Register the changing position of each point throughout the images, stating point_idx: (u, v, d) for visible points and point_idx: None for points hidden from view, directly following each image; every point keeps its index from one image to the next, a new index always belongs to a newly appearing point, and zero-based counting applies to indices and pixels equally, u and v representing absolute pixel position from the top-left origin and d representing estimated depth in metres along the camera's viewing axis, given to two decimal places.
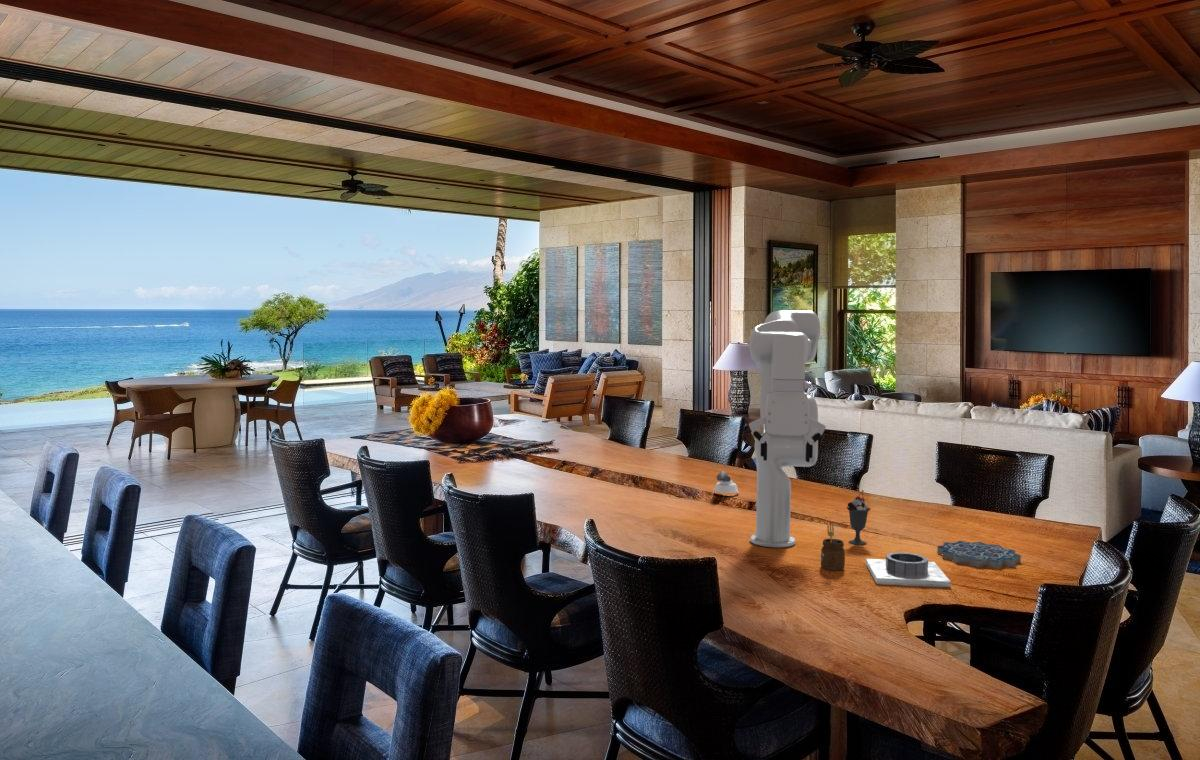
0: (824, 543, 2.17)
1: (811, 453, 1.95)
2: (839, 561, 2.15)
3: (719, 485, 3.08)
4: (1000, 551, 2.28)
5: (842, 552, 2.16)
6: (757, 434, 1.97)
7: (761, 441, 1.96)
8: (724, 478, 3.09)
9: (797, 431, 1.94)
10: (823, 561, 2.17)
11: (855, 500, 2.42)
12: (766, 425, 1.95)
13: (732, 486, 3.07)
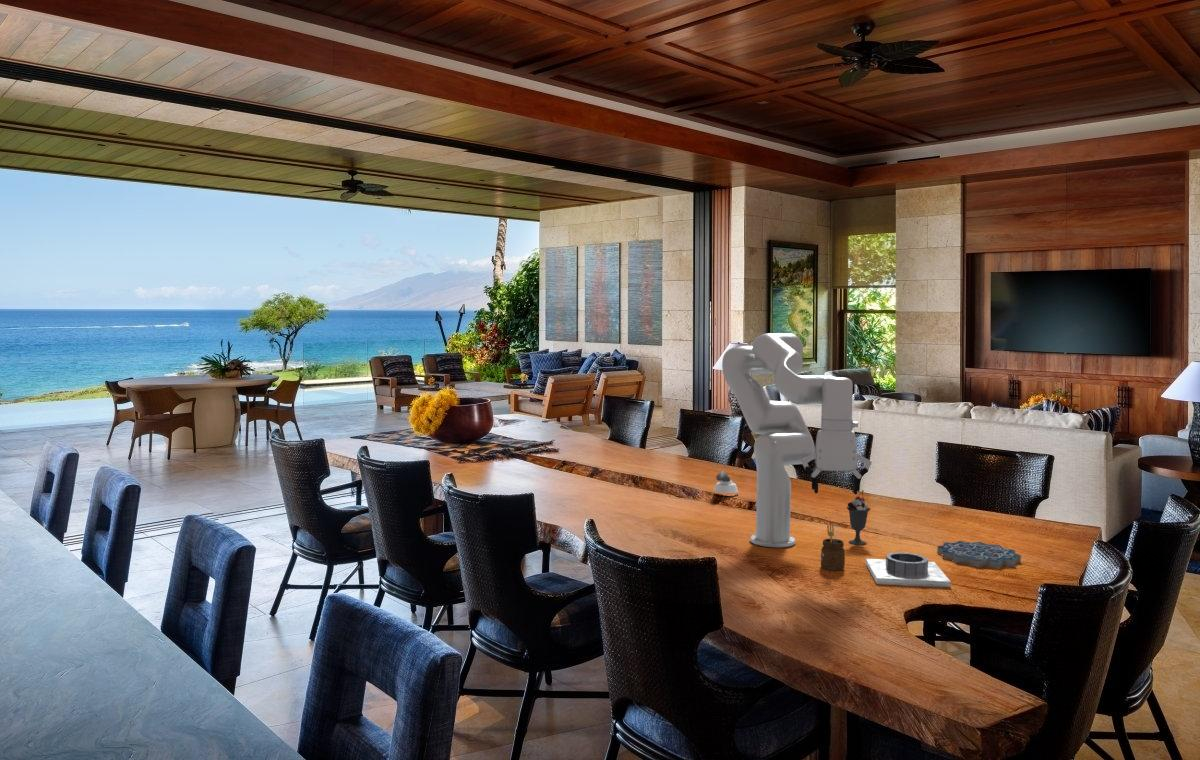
0: (824, 543, 2.17)
1: (858, 486, 2.15)
2: (839, 561, 2.15)
3: (719, 485, 3.08)
4: (1000, 551, 2.28)
5: (842, 552, 2.16)
6: (809, 469, 2.16)
7: (812, 475, 2.16)
8: (724, 478, 3.09)
9: (846, 466, 2.13)
10: (823, 561, 2.17)
11: (855, 500, 2.42)
12: (817, 461, 2.15)
13: (732, 486, 3.07)
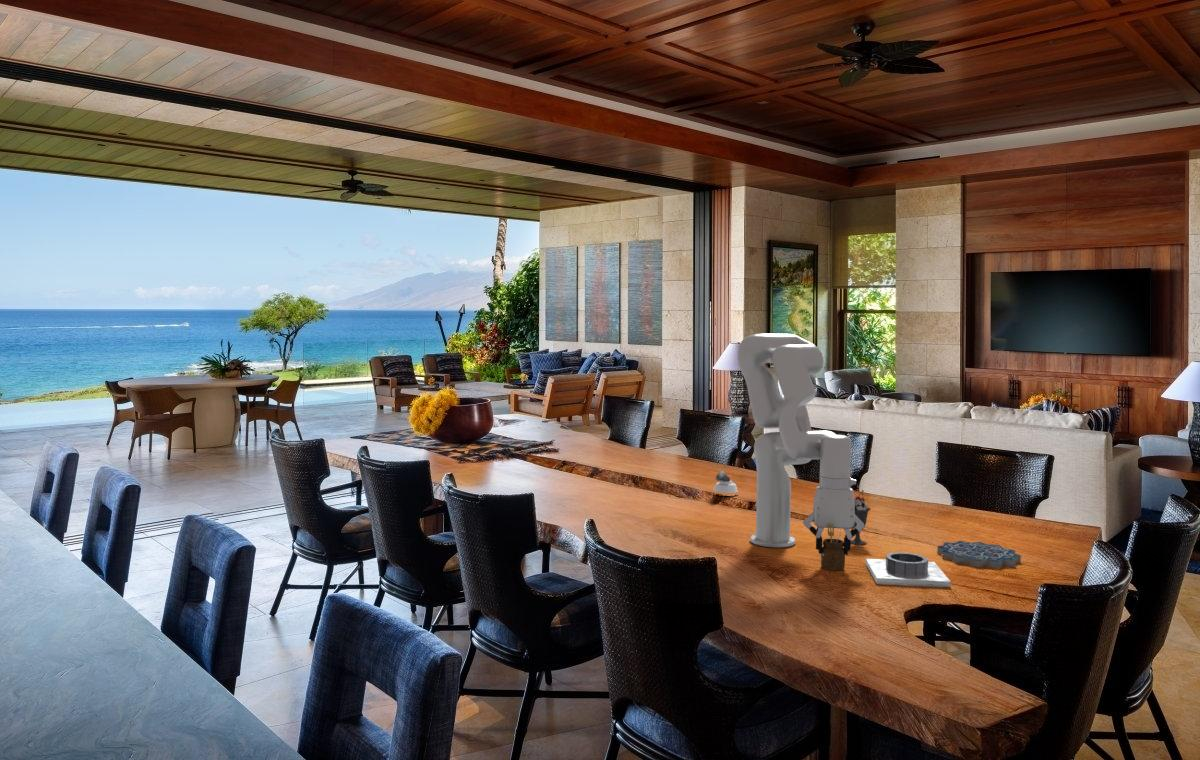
0: (824, 543, 2.17)
1: (849, 547, 2.16)
2: (839, 561, 2.15)
3: (718, 485, 3.08)
4: (1000, 551, 2.28)
5: (842, 552, 2.16)
6: (813, 529, 2.17)
7: (817, 536, 2.17)
8: (723, 478, 3.09)
9: (844, 524, 2.15)
10: (823, 561, 2.17)
11: (855, 500, 2.42)
12: (815, 518, 2.16)
13: (731, 486, 3.07)
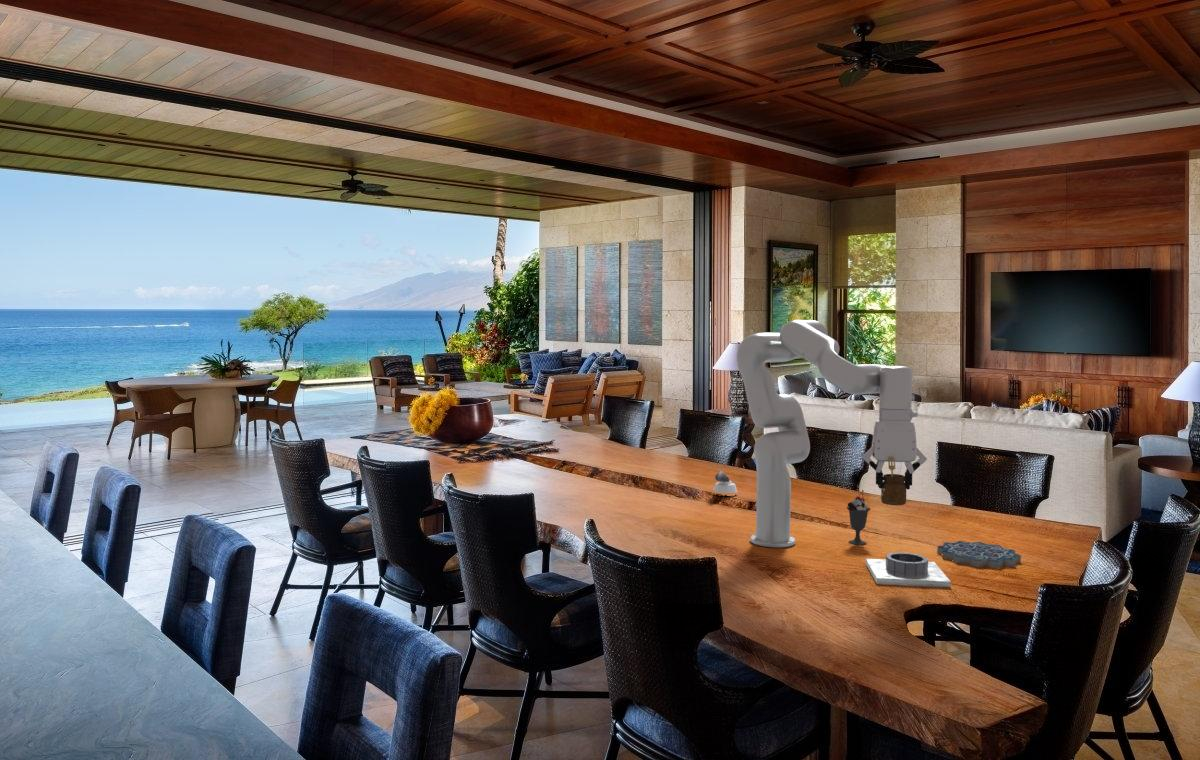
0: (885, 477, 2.11)
1: (911, 481, 2.10)
2: (901, 496, 2.09)
3: (718, 485, 3.08)
4: (1000, 551, 2.28)
5: (904, 486, 2.09)
6: (873, 464, 2.11)
7: (877, 470, 2.11)
8: (723, 478, 3.09)
9: (905, 457, 2.08)
10: (884, 496, 2.10)
11: (855, 500, 2.42)
12: (875, 452, 2.10)
13: (731, 486, 3.06)
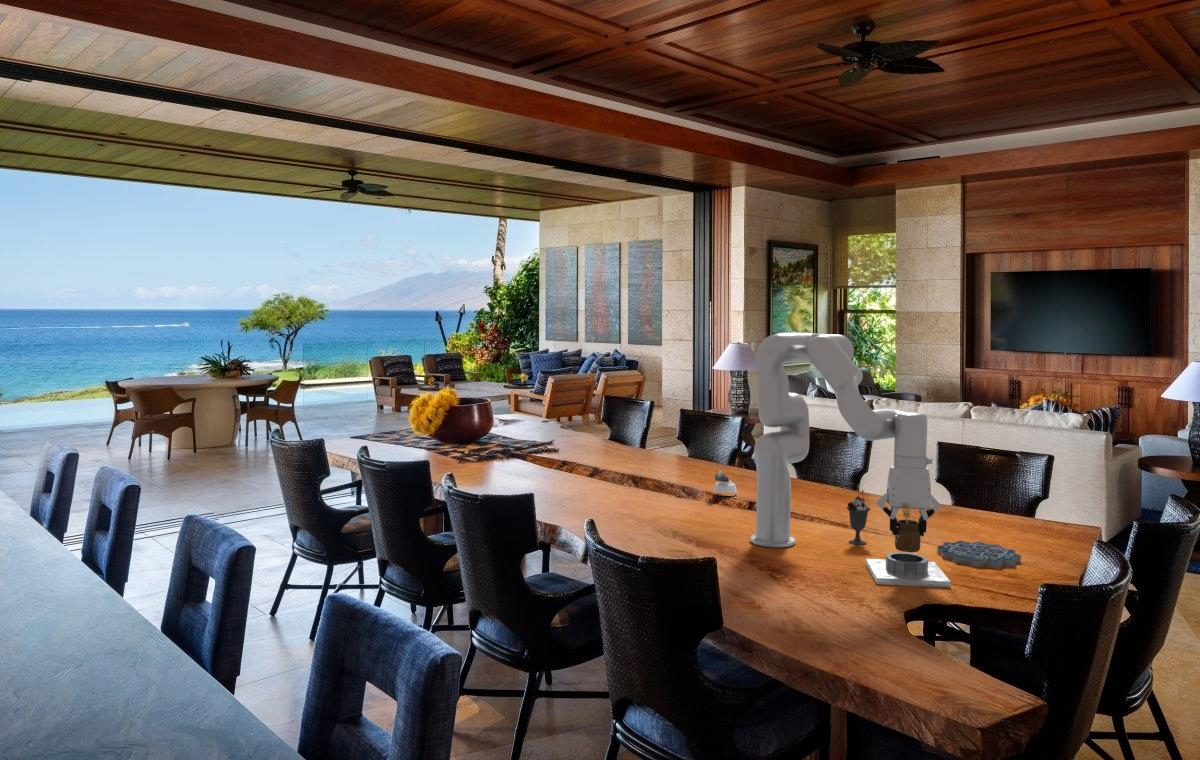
0: (899, 524, 2.10)
1: (925, 528, 2.10)
2: (915, 543, 2.09)
3: (717, 485, 3.08)
4: (1000, 551, 2.28)
5: (918, 533, 2.09)
6: (887, 510, 2.11)
7: (891, 517, 2.10)
8: (723, 478, 3.09)
9: (920, 504, 2.08)
10: (898, 542, 2.10)
11: (855, 500, 2.42)
12: (889, 498, 2.09)
13: (730, 486, 3.06)
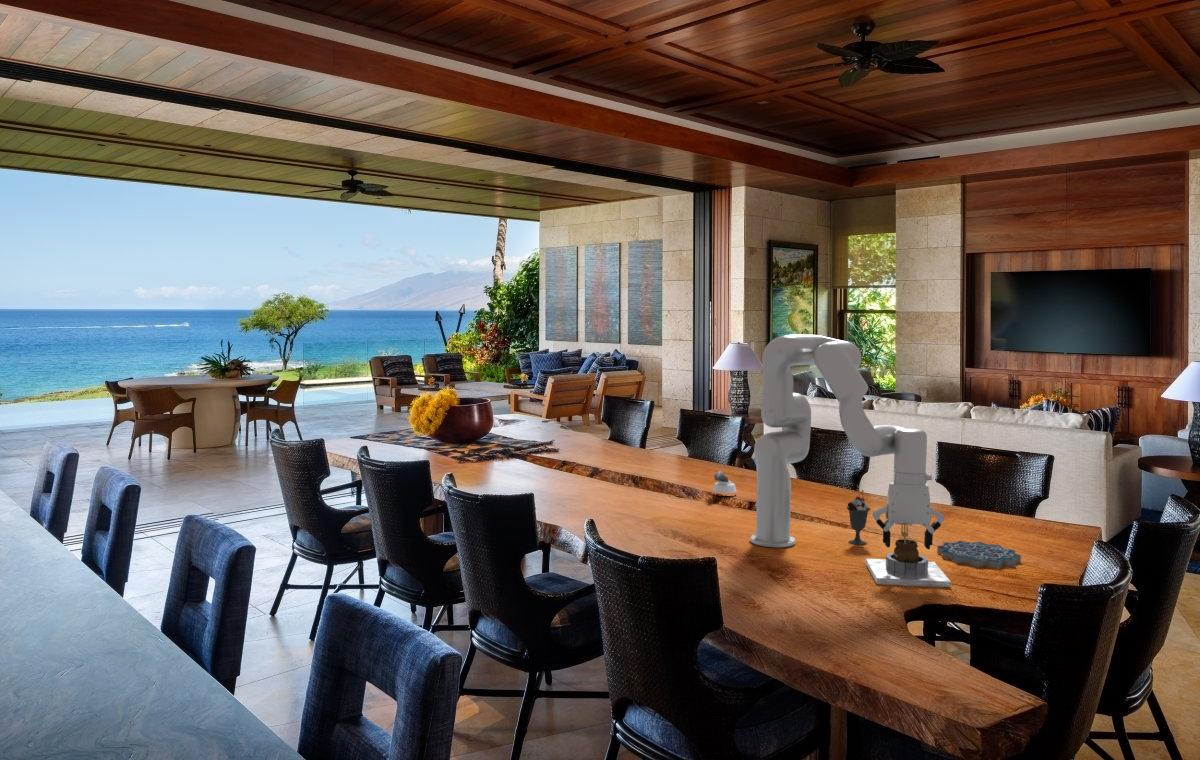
0: (897, 544, 2.11)
1: (931, 541, 2.10)
2: None
3: (717, 485, 3.08)
4: (1000, 551, 2.28)
5: (917, 553, 2.10)
6: (881, 522, 2.11)
7: (885, 529, 2.11)
8: (722, 478, 3.09)
9: (919, 521, 2.08)
10: None
11: (855, 500, 2.42)
12: (889, 515, 2.10)
13: (730, 486, 3.06)
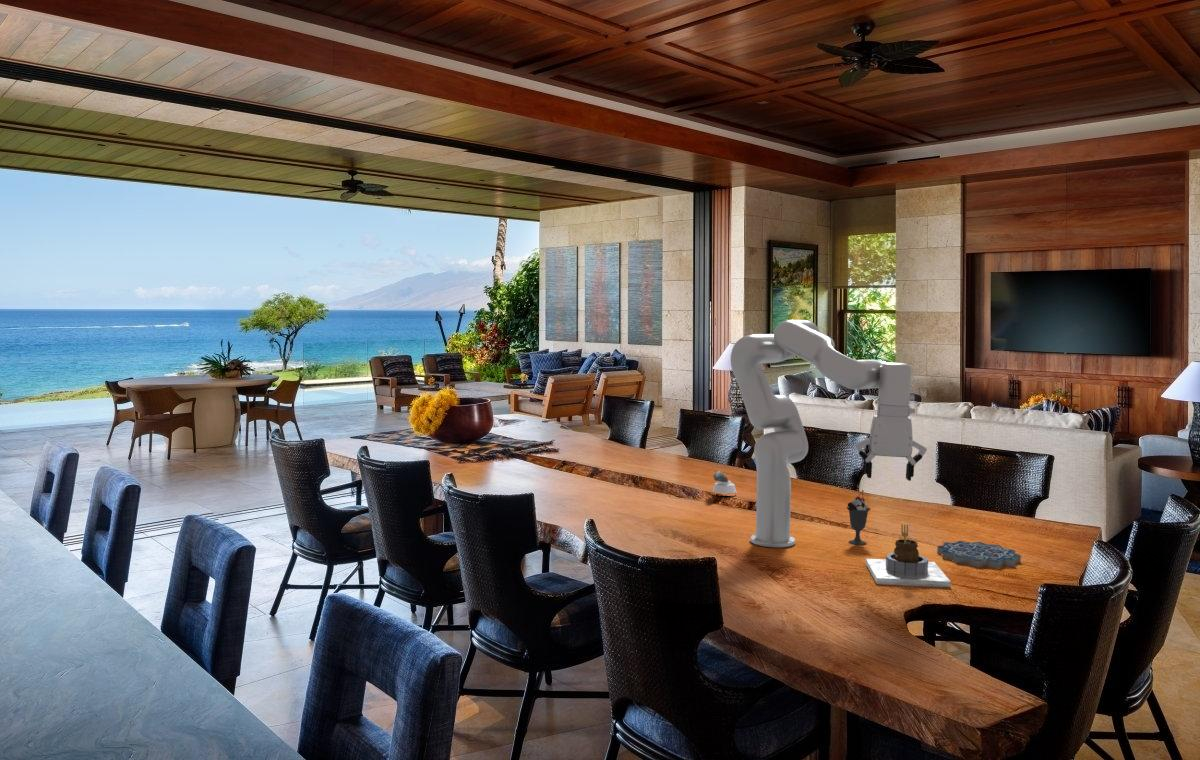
0: (897, 544, 2.11)
1: (912, 472, 2.14)
2: None
3: (716, 485, 3.07)
4: (1000, 551, 2.28)
5: (917, 553, 2.10)
6: (863, 454, 2.15)
7: (866, 460, 2.15)
8: (722, 478, 3.08)
9: (901, 452, 2.13)
10: None
11: (855, 500, 2.42)
12: (872, 446, 2.14)
13: (729, 486, 3.06)
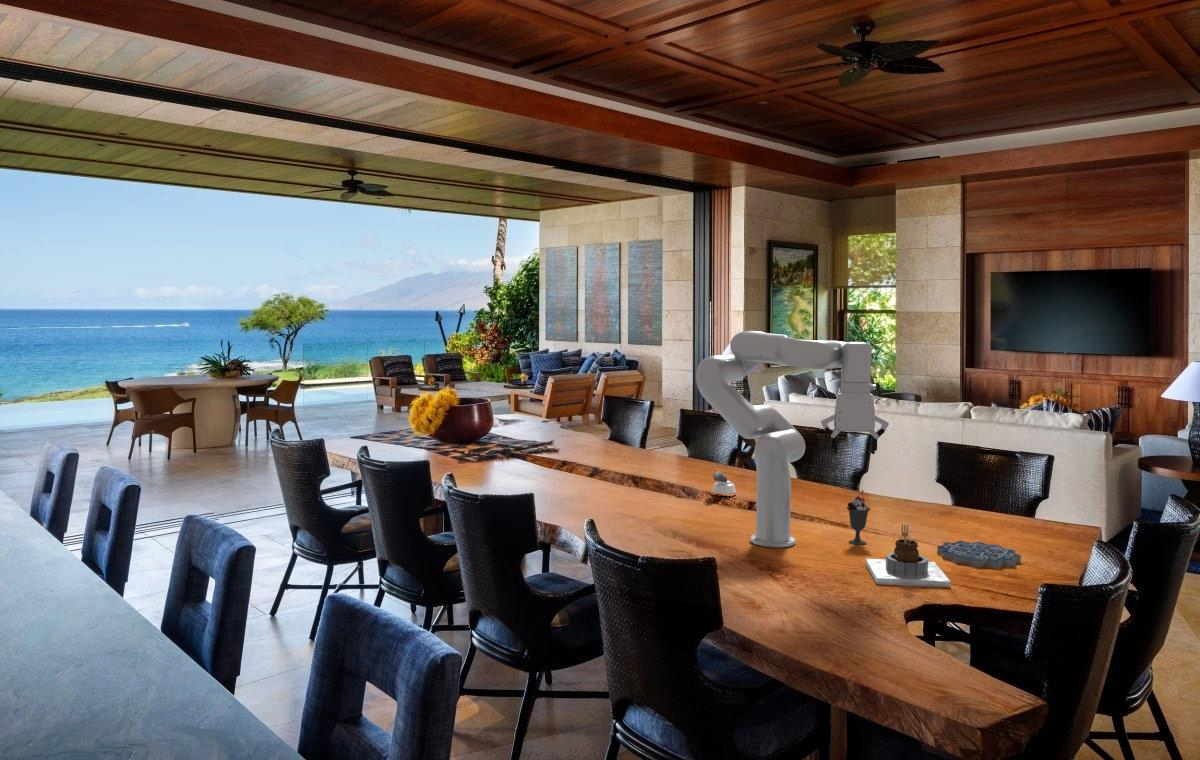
0: (897, 544, 2.11)
1: (876, 446, 2.24)
2: None
3: (716, 485, 3.07)
4: (1000, 551, 2.28)
5: (917, 553, 2.10)
6: (828, 430, 2.26)
7: (832, 436, 2.25)
8: (722, 478, 3.08)
9: (864, 427, 2.23)
10: None
11: (855, 500, 2.42)
12: (836, 422, 2.24)
13: (729, 487, 3.06)
